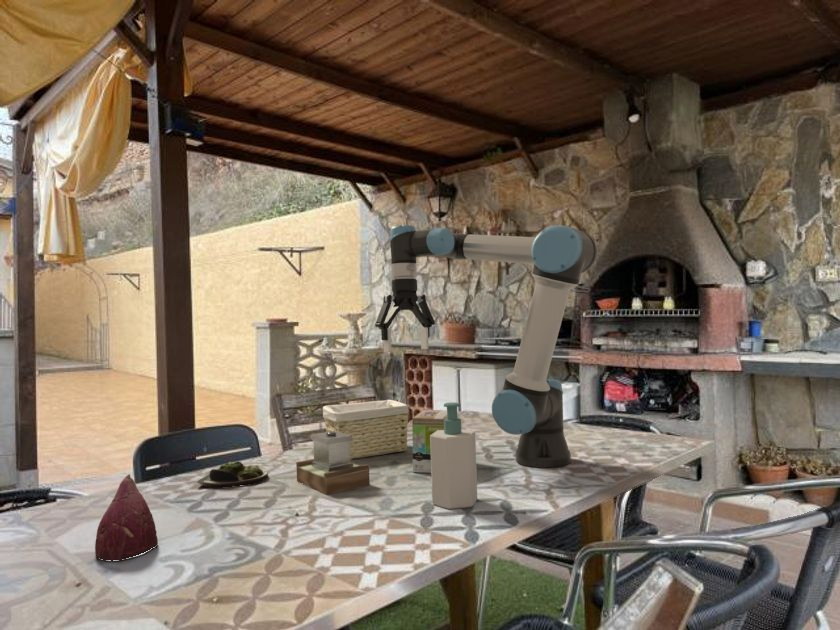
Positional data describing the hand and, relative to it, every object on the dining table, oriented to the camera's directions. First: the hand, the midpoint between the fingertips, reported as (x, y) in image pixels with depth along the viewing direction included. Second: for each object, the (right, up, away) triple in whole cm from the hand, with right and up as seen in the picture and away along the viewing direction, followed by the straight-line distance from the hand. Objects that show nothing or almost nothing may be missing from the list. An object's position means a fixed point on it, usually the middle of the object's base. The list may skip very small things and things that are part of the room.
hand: (406, 350), depth 177 cm
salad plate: (-46, -34, -18) cm, 59 cm away
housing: (-18, -28, -25) cm, 42 cm away
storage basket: (-13, -32, +10) cm, 36 cm away
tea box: (+8, -32, -11) cm, 34 cm away
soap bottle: (+12, -31, -43) cm, 55 cm away
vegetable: (-50, -33, -66) cm, 89 cm away
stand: (-18, -32, -25) cm, 45 cm away
